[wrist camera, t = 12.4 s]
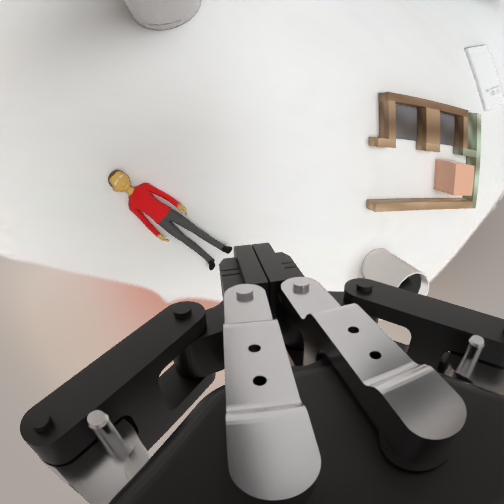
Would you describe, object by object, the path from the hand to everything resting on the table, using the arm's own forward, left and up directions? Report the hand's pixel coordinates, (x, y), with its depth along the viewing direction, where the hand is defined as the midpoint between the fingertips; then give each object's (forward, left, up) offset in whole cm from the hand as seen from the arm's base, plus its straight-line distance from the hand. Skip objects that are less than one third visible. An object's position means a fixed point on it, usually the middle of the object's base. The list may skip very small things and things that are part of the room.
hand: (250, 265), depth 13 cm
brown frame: (-3, +33, -27) cm, 43 cm away
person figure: (+4, -7, -27) cm, 28 cm away
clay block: (0, +38, -27) cm, 46 cm away
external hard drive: (-21, +50, -28) cm, 61 cm away
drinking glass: (+15, +24, -27) cm, 39 cm away
